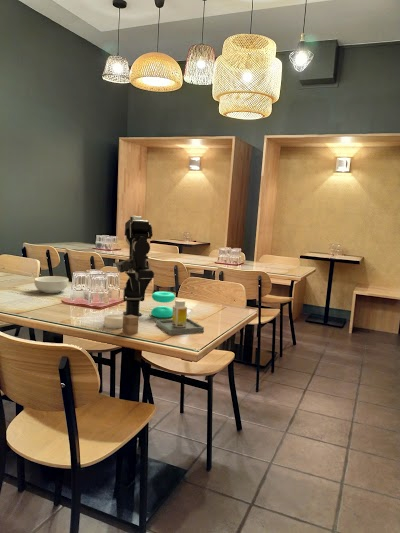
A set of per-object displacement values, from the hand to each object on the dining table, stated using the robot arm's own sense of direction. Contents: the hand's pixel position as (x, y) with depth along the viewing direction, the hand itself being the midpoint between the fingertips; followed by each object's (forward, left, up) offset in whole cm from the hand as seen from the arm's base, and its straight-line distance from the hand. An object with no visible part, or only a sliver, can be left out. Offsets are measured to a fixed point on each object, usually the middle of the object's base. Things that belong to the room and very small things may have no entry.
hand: (137, 292), depth 160 cm
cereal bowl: (-72, -22, -13) cm, 77 cm away
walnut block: (+8, -5, -13) cm, 16 cm away
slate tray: (+8, +15, -13) cm, 21 cm away
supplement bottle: (+8, +15, -12) cm, 21 cm away
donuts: (-12, +16, -13) cm, 24 cm away
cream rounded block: (-2, -8, -13) cm, 15 cm away
